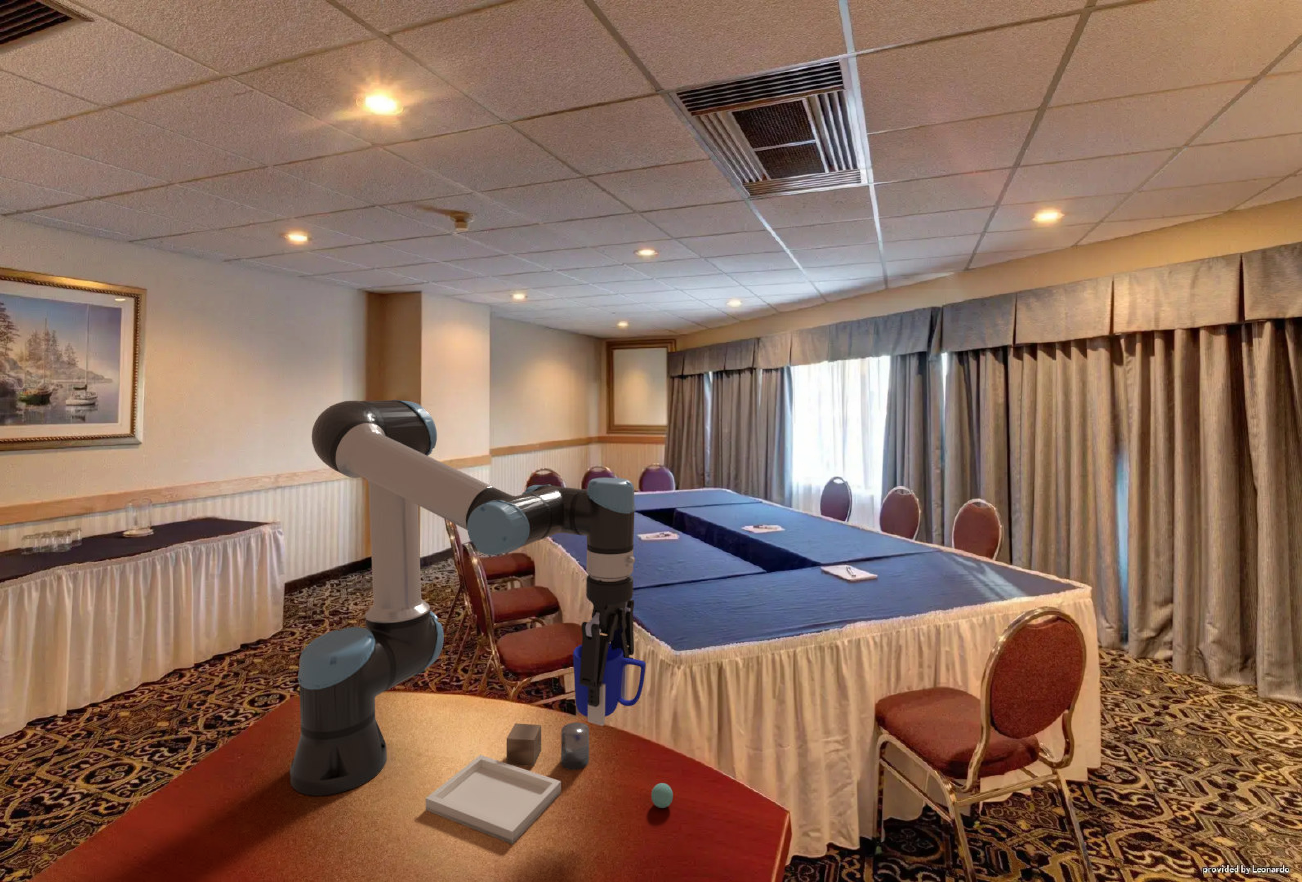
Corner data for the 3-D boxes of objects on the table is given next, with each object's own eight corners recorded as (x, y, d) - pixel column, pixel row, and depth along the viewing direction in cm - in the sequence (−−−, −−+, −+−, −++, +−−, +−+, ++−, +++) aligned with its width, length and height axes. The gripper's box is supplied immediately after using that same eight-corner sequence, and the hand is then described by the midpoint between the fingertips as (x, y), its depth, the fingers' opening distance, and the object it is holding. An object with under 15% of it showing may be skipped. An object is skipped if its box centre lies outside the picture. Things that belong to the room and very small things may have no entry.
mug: (637, 730, 95) (639, 668, 94) (564, 719, 98) (566, 658, 97) (648, 704, 103) (650, 647, 102) (580, 695, 106) (582, 639, 105)
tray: (425, 809, 97) (425, 798, 97) (480, 765, 109) (480, 754, 109) (512, 844, 90) (512, 831, 90) (560, 792, 102) (560, 781, 102)
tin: (555, 765, 109) (555, 733, 109) (570, 750, 114) (570, 719, 113) (579, 772, 107) (579, 740, 107) (593, 757, 112) (594, 726, 111)
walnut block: (506, 765, 109) (506, 738, 109) (515, 748, 114) (515, 723, 114) (533, 766, 109) (534, 740, 109) (541, 750, 114) (541, 724, 114)
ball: (647, 808, 98) (648, 788, 98) (656, 796, 101) (656, 776, 101) (667, 815, 97) (668, 794, 97) (675, 802, 100) (676, 781, 100)
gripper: (600, 596, 88) (597, 749, 89) (656, 562, 105) (653, 690, 107) (556, 588, 91) (554, 736, 93) (617, 556, 109) (615, 681, 110)
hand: (607, 711), depth 100 cm, fingers closed on mug, 7 cm apart
